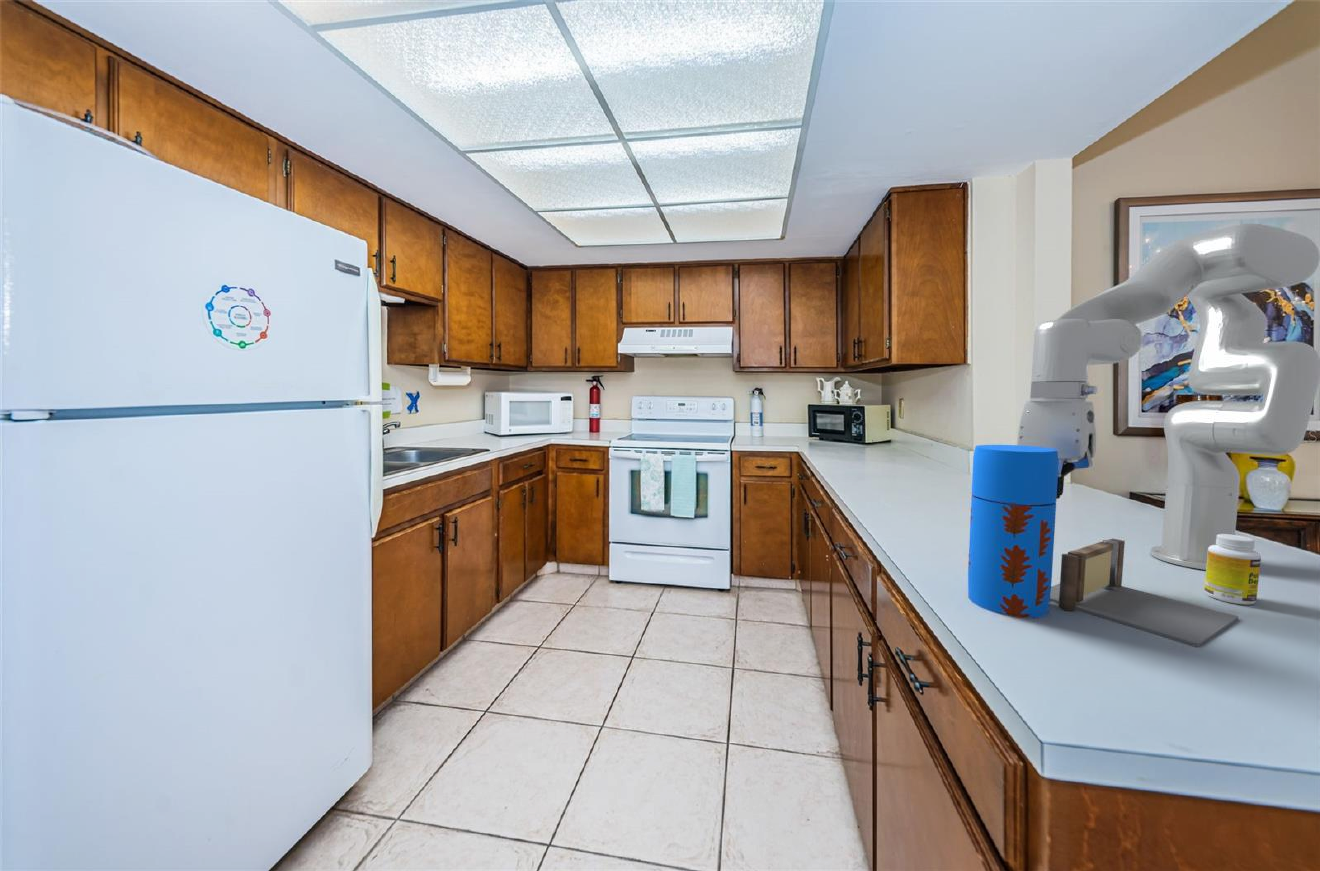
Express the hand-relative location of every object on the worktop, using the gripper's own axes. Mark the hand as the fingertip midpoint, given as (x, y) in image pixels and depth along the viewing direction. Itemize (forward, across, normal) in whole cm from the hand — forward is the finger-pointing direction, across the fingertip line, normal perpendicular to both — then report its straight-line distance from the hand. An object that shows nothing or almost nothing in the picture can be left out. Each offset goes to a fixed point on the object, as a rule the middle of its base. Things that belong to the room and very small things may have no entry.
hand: (1050, 498), depth 86 cm
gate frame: (+15, -12, 0) cm, 19 cm away
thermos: (+16, -2, +15) cm, 22 cm away
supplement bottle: (+15, -18, -18) cm, 29 cm away
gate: (+14, -7, +1) cm, 16 cm away
